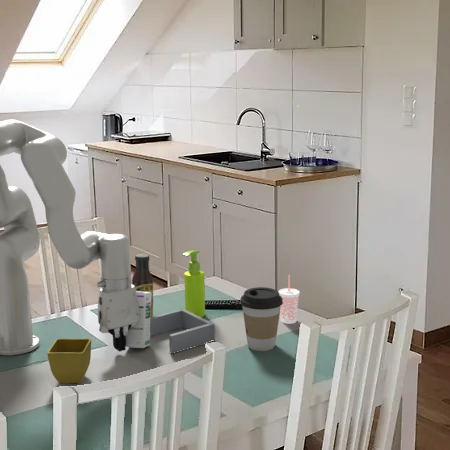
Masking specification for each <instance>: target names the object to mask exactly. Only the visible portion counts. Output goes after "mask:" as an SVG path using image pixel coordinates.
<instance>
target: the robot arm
mask: <svg viewBox="0 0 450 450" xmlns="http://www.w3.org/2000/svg"><path fill="white" fill-rule="evenodd" d="M12 153H13V154H14V153H15V154H18V155H20V161H21V163H22V166H23V167H24V170H25V171H26V172H27V175H28V176H29V179H30V180H31V182H32V184H33V186H34V189H35V190H36V192H37V194H38V195H39V198H40V199H41V201H42V203H43V205H44V210H45V218H46V226H47V231H48V234H49V238H50V239H51V242H52V244H53V246H54V248H55V250H56V251H57V253H58V255H59V257H60V258H61V260H62V262H64V264H65V265H67V266H68V267H69V268H71V269H75V270H82V269H84V268H86V267H88V266H89V265H91V264H92V263H93V262H96V261H97V260H100V276H101V277H100V280H99V281H97V282H96V286H97V287H98V288H100V289H99V291H98V300H97V321H98V324H99V329H98V331H99V332H100V333H101V334H108V333H109V334H110V335H112V346H113V348H114V349H115V350H116V351H118V352H123V351H126V347H125V345H126V335H127V334H128V331H129V329H130V328H131V326H134V325H136V322H138V321H139V318H140V314H139V304H138V298H137V293H136V289H135V286H134V285H132V268H131V248H130V247H131V246H130V244H131V243H130V238H129V237H128V236H127V235H126V234H121V233H103V232H100V231H99V232H98V231H94V230H88V231H83V232H81V233H80V232H79V230H78V228H77V225H76V224H75V223H76V222H75V219H74V206H75V201H76V193H77V192H76V189H75V187H74V186H73V183H72V181H71V180H70V178H69V175H68V174H67V172H66V170H65V168H64V166H63V164H64V163H65V161H66V160H67V158H68V157H67V156H68V151H67V148H66V145H65V143H64V142H63V140H61V139H59V138H58V137H57V136H56V135H53V134H50V133H49V132H47V131H44V130H42V129H39V128H37V127H35V126H33V125H30V124H28V123H26V122H23V121H20V120H18V119H5V120H2V121H0V157H2V156H6V155H10V154H12ZM31 202H32V201H31V200H30V197H29V196H28V195H27V193H26V192H25V191H24V190H23V189H21V188H20V187H17V186H15V185H8V182H7V177H6V174H5V170H4V169H3V167H2V165H1V164H0V229H1V228H3V229H4V230H3V231H2V232H0V356H17V355H18V356H19V355H23V354H27V353H29V352H31V351H32V352H33V351H34V350H36V349H37V348H38V347H39V346H40V338H39V337H38V336H36V335H34V334H33V333H34V332H33V320H32V318H33V317H32V308H31V307H32V306H31V296H30V284H29V277H28V274H27V271H26V269H25V265H24V263H25V262H26V261H28V260H29V259H31V258H32V257H33V256H34V255H36V253H37V252H38V251H39V248H40V245H41V238H40V233H39V228H38V225H37V220H36V217H35V213H34V209H33V206H32V203H31Z"/></svg>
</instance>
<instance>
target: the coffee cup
mask: <svg viewBox="0 0 450 450" xmlns="http://www.w3.org/2000/svg"><path fill="white" fill-rule="evenodd" d="M278 291H279V290H276V289H275V288H271V287H265V286H264V287H263V286H262V287H261V286H260V287H259V286H257V287H251V288H249V289H246V290H245V291H244V292H243V295H241V297H240V301H239V304H240V305H241V306H242V313H243V320H244V329H245V334H246V335H245V336H246V341H247V347H248V348H249V349H250V350H252V351H255V352H256V351H257V352H267V351H272V350H273V349H275V345H276V342H277V336H278V335H277V334H278V329H279V321H280V316H281V315H280V307H281V305H282V304H283V301H282V300H283V299H282V297H281V296H280V295H279V292H278Z"/></svg>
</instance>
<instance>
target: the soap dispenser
mask: <svg viewBox="0 0 450 450" xmlns="http://www.w3.org/2000/svg"><path fill="white" fill-rule="evenodd" d="M199 253H200V250H199V249H198V250H197V249H192V250H191V249H190V250H188V251H186V252H183V253H182V257H183V256H184V257H189V256H190V260H188V263H187V264H188V266H187V267H188V271H185V272H184V274H183V275H184V305H185V306H184V309H185V310H187V311H189V312H191V313H193V314H195V315H197V316H199V317H202V318H203V317H205V316H206V302H205V301H206V298H205V297H206V296H205V295H206V294H205V285H206V284H205V272H204V271H202V270H201V262H200V260H198V254H199Z"/></svg>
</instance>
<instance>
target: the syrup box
mask: <svg viewBox="0 0 450 450" xmlns="http://www.w3.org/2000/svg"><path fill="white" fill-rule="evenodd" d="M136 293H137V298H138V304H139V314H140V318H139V321H138V322H136V325H134V326H131V328H130V329H129V331H128V334H127V335H126V345H125V348H134V349H144V348H146V347H149V346H150V345H151V337H152V336H151V298H152V293H151V292H146V291H136Z"/></svg>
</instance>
